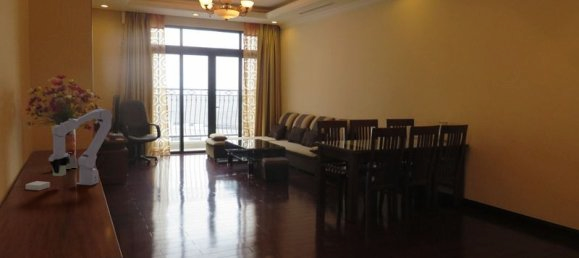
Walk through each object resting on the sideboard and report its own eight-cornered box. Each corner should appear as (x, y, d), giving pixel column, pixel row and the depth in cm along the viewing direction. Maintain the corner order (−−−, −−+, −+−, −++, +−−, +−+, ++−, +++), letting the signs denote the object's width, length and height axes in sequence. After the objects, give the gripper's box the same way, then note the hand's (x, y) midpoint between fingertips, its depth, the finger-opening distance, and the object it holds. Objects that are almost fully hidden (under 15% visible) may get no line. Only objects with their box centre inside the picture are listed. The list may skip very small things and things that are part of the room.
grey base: (49, 187, 231) (49, 182, 231) (39, 191, 223) (39, 185, 223) (36, 186, 232) (36, 181, 232) (25, 189, 224) (25, 184, 224)
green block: (66, 174, 233) (65, 165, 232) (60, 176, 228) (60, 167, 228) (58, 173, 233) (58, 164, 233) (52, 175, 229) (52, 166, 228)
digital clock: (52, 172, 268) (51, 155, 267) (48, 169, 274) (47, 153, 273) (79, 169, 279) (79, 153, 278) (75, 167, 285) (75, 151, 284)
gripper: (61, 145, 237) (61, 169, 238) (43, 148, 223) (43, 174, 224) (73, 146, 236) (73, 170, 238) (55, 149, 222) (55, 175, 223)
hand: (59, 172), depth 231 cm, fingers closed on green block, 4 cm apart
